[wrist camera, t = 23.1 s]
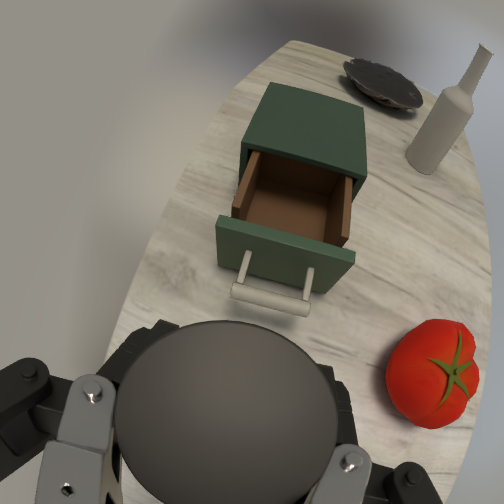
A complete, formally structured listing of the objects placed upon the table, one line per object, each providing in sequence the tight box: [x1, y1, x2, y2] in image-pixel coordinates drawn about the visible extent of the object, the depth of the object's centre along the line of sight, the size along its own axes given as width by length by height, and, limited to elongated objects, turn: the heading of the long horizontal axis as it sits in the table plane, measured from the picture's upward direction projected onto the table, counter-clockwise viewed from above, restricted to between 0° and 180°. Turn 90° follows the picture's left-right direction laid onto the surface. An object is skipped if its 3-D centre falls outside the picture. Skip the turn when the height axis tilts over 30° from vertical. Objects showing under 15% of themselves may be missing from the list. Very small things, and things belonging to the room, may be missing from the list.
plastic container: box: [114, 320, 338, 504], centre depth 9 cm, size 5×5×9 cm
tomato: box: [386, 319, 479, 429], centre depth 23 cm, size 13×12×8 cm
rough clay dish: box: [343, 58, 423, 110], centre depth 53 cm, size 22×22×5 cm
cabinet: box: [238, 82, 367, 203], centre depth 35 cm, size 15×14×10 cm
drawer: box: [215, 150, 356, 317], centre depth 29 cm, size 18×12×8 cm
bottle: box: [406, 43, 494, 175], centre depth 32 cm, size 7×7×28 cm
